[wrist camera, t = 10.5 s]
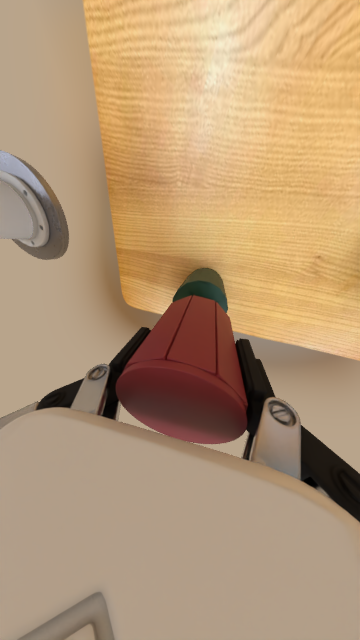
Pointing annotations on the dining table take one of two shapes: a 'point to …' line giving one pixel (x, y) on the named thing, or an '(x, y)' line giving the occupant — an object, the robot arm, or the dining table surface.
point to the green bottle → (203, 287)
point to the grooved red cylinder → (188, 376)
